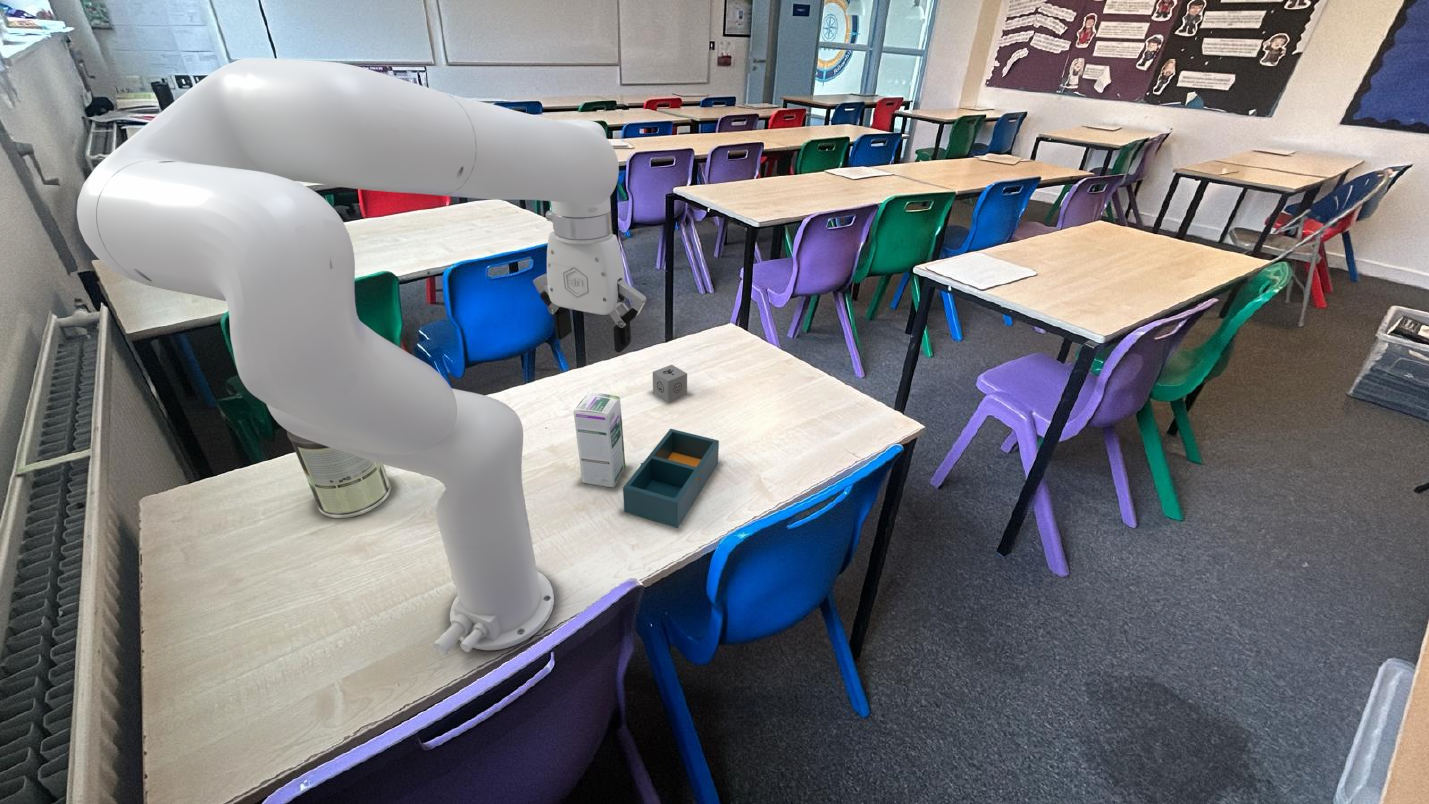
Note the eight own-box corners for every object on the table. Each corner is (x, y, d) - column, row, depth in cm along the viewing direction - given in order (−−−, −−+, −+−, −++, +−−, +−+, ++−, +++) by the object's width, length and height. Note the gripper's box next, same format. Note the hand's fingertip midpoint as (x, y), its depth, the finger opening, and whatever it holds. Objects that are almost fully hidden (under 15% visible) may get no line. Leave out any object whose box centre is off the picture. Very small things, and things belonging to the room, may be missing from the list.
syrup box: (614, 488, 99) (609, 414, 91) (580, 483, 100) (572, 409, 92) (626, 468, 104) (621, 395, 96) (593, 463, 105) (586, 390, 97)
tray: (677, 528, 92) (677, 502, 89) (624, 512, 94) (622, 487, 92) (718, 463, 106) (719, 440, 103) (670, 451, 108) (670, 428, 106)
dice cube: (671, 385, 128) (671, 364, 126) (687, 394, 125) (687, 373, 123) (653, 392, 125) (652, 371, 123) (668, 402, 122) (667, 381, 120)
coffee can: (302, 505, 93) (270, 430, 86) (362, 469, 101) (337, 397, 94) (347, 527, 89) (318, 450, 82) (406, 488, 97) (383, 414, 90)
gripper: (509, 223, 79) (527, 341, 88) (628, 241, 74) (634, 365, 83) (543, 209, 85) (556, 321, 94) (655, 225, 80) (657, 342, 89)
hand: (592, 342), depth 88 cm, fingers open, 9 cm apart
